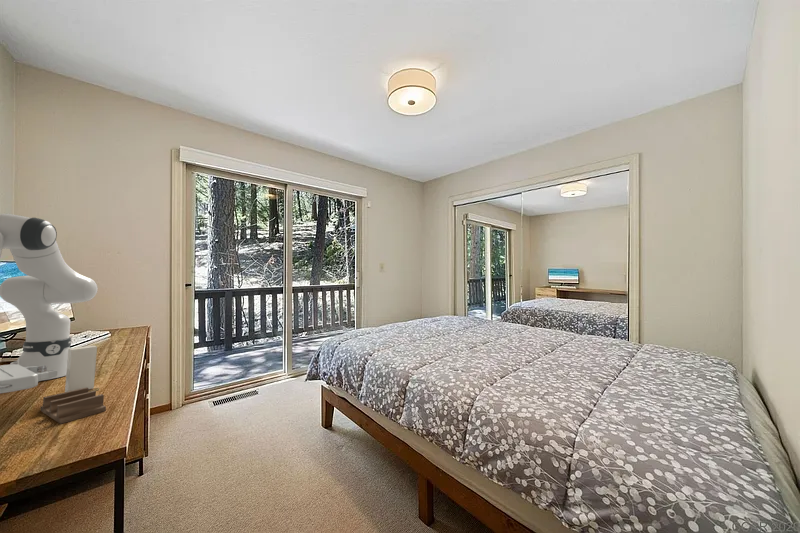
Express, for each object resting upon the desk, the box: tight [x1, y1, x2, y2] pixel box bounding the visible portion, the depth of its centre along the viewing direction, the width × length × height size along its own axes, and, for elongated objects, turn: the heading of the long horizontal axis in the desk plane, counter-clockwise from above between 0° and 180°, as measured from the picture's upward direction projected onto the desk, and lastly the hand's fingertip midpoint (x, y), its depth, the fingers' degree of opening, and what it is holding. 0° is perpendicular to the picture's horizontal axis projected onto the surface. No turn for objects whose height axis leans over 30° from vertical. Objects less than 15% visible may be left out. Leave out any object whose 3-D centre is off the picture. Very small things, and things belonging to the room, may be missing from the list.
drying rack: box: [39, 387, 107, 425], centre depth 86 cm, size 16×9×4 cm, turn 63°
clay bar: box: [64, 345, 98, 392], centre depth 99 cm, size 3×6×14 cm, turn 151°
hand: (51, 370), depth 93 cm, fingers open, 8 cm apart
